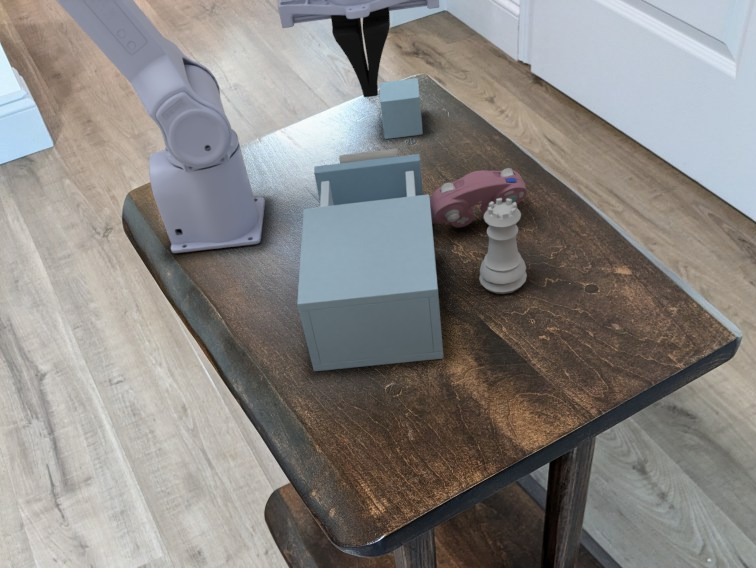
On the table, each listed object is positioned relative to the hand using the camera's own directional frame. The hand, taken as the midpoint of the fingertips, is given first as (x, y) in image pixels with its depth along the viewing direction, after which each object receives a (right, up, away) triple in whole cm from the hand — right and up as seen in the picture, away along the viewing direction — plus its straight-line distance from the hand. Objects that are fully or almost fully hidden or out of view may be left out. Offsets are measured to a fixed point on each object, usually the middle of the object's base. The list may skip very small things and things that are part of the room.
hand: (370, 91), depth 85 cm
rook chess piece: (+13, -20, -4) cm, 24 cm away
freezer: (+1, -23, -5) cm, 24 cm away
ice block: (+4, +3, +15) cm, 16 cm away
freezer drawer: (0, -14, +2) cm, 14 cm away
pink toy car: (+11, -12, +3) cm, 16 cm away
